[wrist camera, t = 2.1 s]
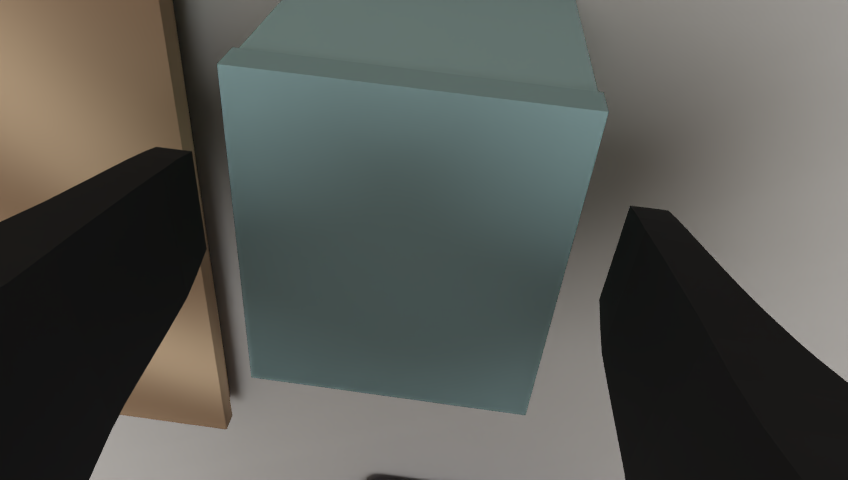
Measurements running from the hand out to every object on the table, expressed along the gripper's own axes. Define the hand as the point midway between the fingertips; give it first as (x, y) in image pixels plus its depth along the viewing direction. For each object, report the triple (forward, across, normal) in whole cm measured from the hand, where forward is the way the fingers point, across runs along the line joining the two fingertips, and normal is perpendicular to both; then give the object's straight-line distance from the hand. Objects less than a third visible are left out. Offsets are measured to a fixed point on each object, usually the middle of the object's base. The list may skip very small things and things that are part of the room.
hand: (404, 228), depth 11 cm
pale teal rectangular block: (+4, 0, 0) cm, 4 cm away
